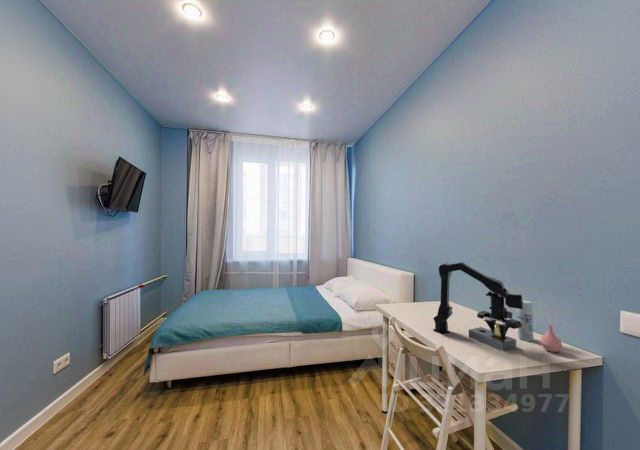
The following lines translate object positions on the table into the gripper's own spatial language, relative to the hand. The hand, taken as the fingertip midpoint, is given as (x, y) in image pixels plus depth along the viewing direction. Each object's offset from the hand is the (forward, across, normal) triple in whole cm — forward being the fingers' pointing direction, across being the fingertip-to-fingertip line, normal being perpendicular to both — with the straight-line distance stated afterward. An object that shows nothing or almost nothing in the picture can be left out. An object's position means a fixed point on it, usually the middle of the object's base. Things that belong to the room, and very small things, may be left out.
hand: (498, 336), depth 126 cm
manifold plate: (+4, +4, 0) cm, 6 cm away
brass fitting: (+2, 0, 0) cm, 2 cm away
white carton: (+5, -1, -20) cm, 21 cm away
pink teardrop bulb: (+5, -14, -16) cm, 22 cm away
